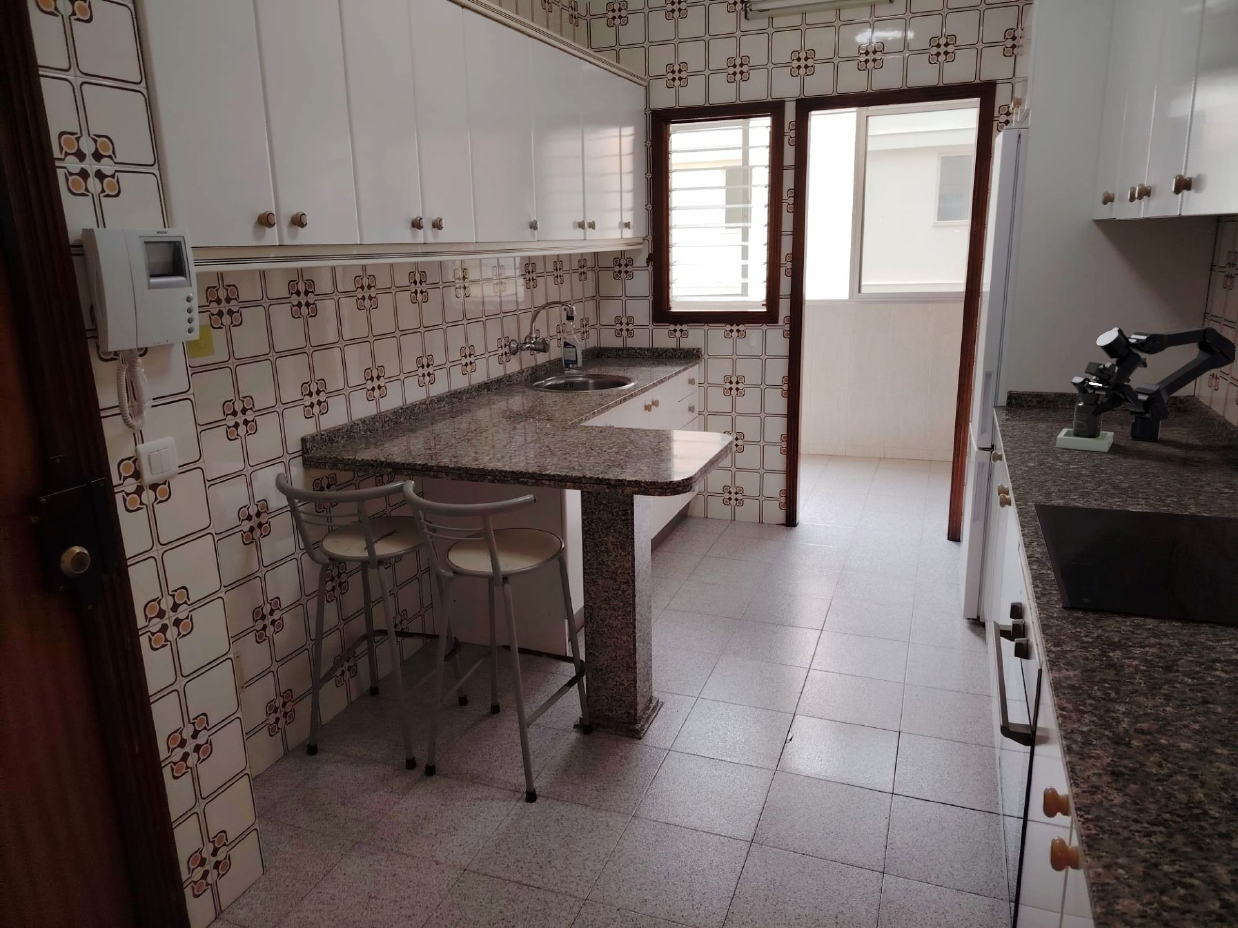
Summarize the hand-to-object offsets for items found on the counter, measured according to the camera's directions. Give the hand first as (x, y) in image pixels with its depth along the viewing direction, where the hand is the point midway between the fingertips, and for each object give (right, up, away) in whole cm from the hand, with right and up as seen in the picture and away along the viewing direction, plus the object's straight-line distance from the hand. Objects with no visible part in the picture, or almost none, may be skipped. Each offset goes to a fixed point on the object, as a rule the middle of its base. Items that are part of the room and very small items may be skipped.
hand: (1084, 413), depth 233 cm
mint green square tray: (+1, -9, +2) cm, 9 cm away
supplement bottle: (+2, -6, +2) cm, 7 cm away
